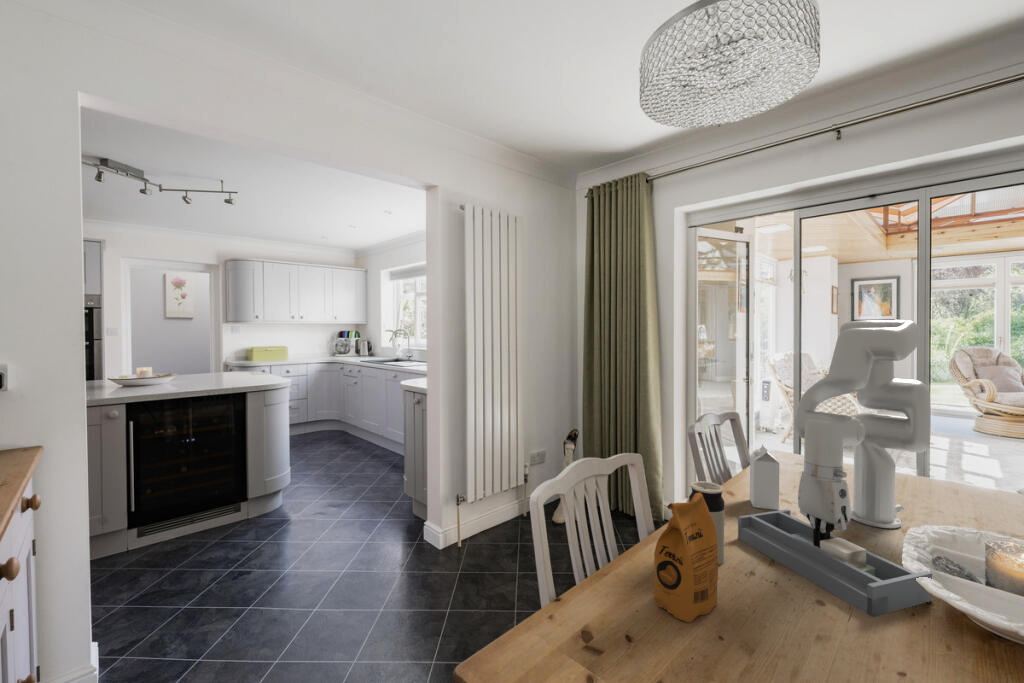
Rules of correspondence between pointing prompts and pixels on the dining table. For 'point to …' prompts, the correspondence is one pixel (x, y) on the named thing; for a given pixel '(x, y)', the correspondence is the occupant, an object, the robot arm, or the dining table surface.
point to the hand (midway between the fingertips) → (821, 546)
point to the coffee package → (687, 561)
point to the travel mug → (713, 509)
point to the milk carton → (764, 479)
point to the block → (845, 551)
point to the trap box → (833, 565)
